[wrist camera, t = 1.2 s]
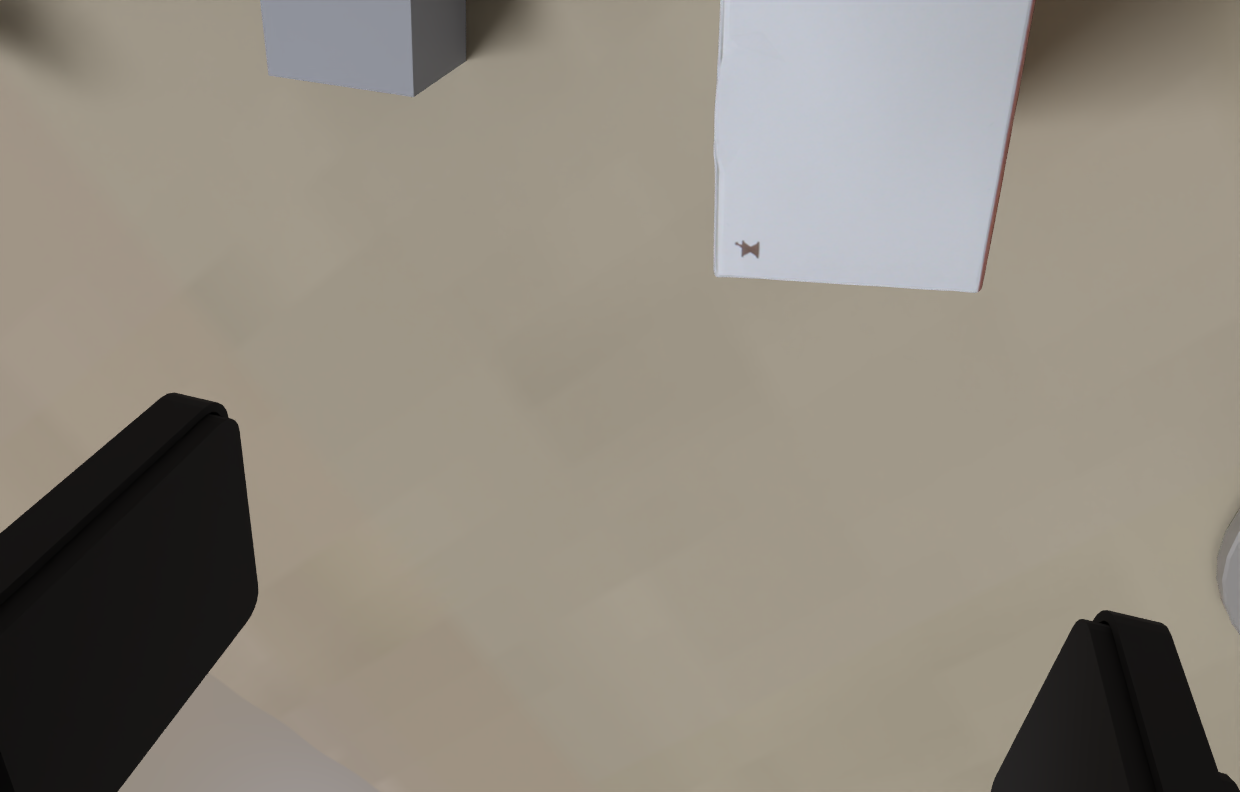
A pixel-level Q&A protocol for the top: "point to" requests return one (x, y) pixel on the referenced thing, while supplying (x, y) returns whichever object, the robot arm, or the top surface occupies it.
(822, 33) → the small box
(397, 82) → the slate-grey cube
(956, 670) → the top surface
